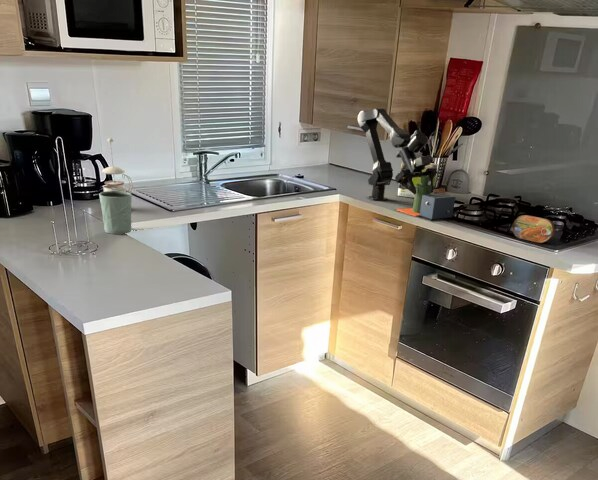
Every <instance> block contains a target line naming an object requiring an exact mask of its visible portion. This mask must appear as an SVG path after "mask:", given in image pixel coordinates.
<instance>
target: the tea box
mask: <svg viewBox="0 0 598 480" xmlns="http://www.w3.org/2000/svg"><path fill="white" fill-rule="evenodd" d="M403 166H404V163H403V162H401V165H400V171H401V170H402V169H403ZM438 166H439V164H438V163H433V162H432V163H431V164H430V165H427V166H425V169H424V170H422V172H425V170H426V169H427V168H436V170H437V171H438ZM437 175H438V173H437V174H436V175H435V176H434V178H433V192H432V193H431V194H435V187H436V180H437ZM412 181H413V184H414V186H415V189H416V184H420V182H421V177H418V178H412ZM397 196H398V197H405V198H413V199H414V196H415V194H413V193H412V192H411V191H409V190H408V189H407V188H406V187H404V186H403V185H400V184H399V183H398V190H397Z"/></svg>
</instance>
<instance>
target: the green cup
mask: <svg viewBox="0 0 598 480" xmlns="http://www.w3.org/2000/svg"><path fill="white" fill-rule="evenodd" d="M98 197H99V201H100V208H101V213H102V222H103V228H104V232H105V233H107V234H112V235H125V234H128V233H131V232H132V202H133V200H132V199H133V194H132V192H130V193H129V191H126V192H122V191H106V192H105V191H101V192H100V193H99V194H98Z"/></svg>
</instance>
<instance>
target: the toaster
mask: <svg viewBox="0 0 598 480" xmlns="http://www.w3.org/2000/svg"><path fill="white" fill-rule="evenodd" d="M455 202H456V196H455V195H451V194H448V193H444V192H442V193H441V192H440V193H434V194H427V195H422V202H421V209H420V215H419V216H418V217H419V218H422V219H424V220H427V221H430V222H434V221H441V220H442V221H443V220H452V219H454V217H453V213H454V208H455Z"/></svg>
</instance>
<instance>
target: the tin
mask: <svg viewBox="0 0 598 480" xmlns="http://www.w3.org/2000/svg"><path fill="white" fill-rule="evenodd" d="M512 232H513V234H514V236H515V237H516V238H517V239H520V240H524V241H530V242H533V243H537V244H538V243H539V244H543V243H546V242H548V241H550V240H551V239H552V238H553V237H554V235H555V232H556V228H555V224H554V222H553V221H551V220H550V219H548V218H543V217H538V216H533V215H528V214H524V215H519V216H518V217H517V218H516V219H514V222H513V223H512Z"/></svg>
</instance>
